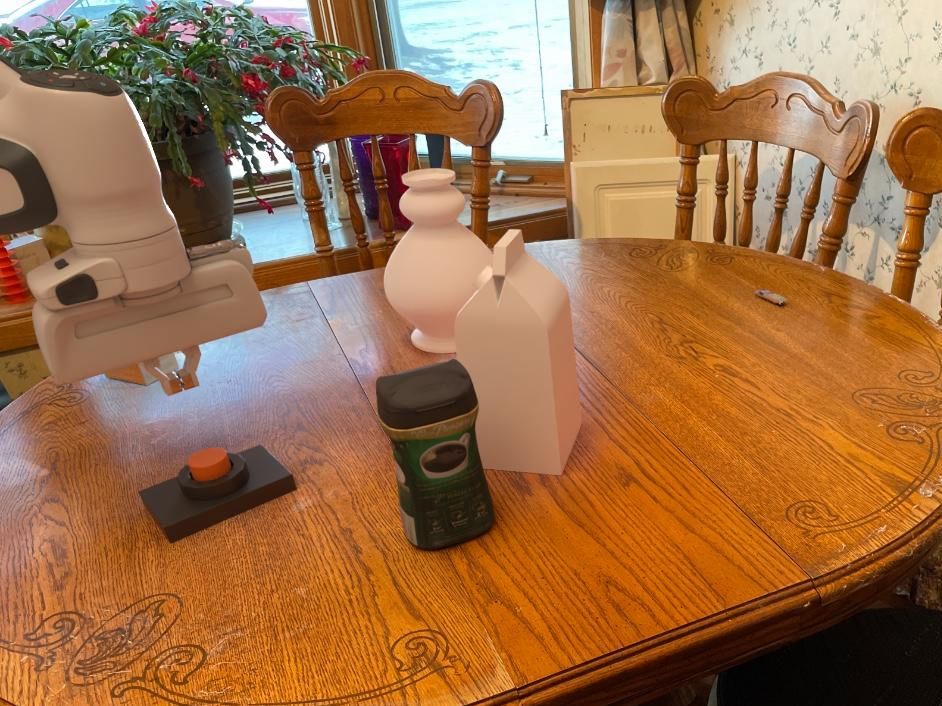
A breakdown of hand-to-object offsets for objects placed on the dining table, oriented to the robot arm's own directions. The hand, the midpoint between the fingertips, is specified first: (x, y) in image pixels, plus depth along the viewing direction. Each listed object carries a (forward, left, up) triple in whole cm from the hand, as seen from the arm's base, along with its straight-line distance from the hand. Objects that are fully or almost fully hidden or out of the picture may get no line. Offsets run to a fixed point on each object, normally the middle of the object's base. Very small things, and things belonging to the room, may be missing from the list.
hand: (182, 389), depth 81 cm
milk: (+32, -16, -14) cm, 38 cm away
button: (0, 0, -10) cm, 10 cm away
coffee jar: (+16, -23, -14) cm, 31 cm away
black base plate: (0, 0, -14) cm, 14 cm away
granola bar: (+90, -9, -14) cm, 91 cm away
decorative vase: (+43, +18, -14) cm, 49 cm away
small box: (+3, +40, -14) cm, 43 cm away
